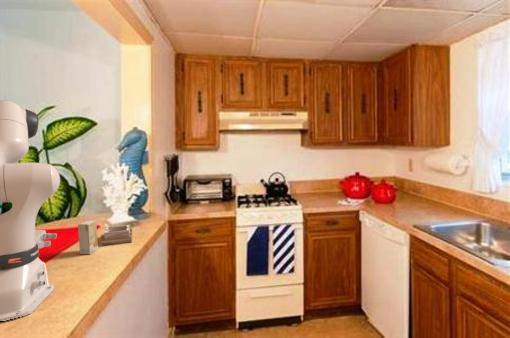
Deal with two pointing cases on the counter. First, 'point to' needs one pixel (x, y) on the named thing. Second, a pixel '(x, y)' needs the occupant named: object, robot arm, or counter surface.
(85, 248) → the skincare box
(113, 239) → the collar stand
